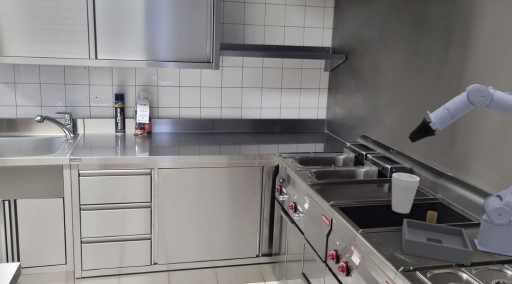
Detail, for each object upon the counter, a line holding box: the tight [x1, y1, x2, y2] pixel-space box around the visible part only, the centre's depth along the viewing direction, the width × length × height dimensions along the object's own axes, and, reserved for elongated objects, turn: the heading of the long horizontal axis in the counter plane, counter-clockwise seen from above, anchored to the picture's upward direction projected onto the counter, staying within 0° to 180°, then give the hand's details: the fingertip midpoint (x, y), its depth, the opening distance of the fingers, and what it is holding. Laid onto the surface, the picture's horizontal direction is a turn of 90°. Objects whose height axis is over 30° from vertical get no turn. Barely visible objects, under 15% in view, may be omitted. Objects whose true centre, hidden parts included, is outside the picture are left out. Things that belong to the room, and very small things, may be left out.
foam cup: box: [391, 172, 420, 214], centre depth 165 cm, size 10×9×13 cm
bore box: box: [401, 218, 474, 267], centre depth 136 cm, size 18×17×4 cm
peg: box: [425, 210, 438, 224], centre depth 150 cm, size 3×3×6 cm
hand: (410, 138), depth 141 cm, fingers open, 7 cm apart
